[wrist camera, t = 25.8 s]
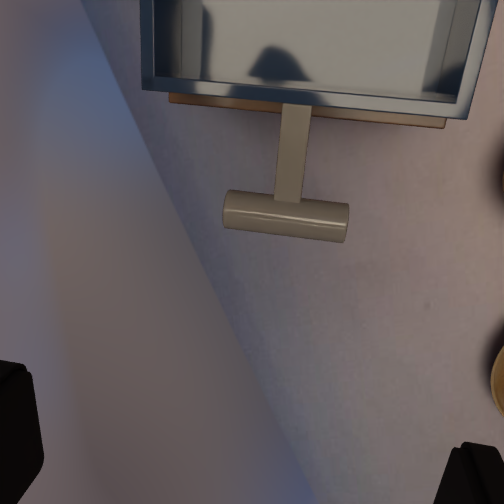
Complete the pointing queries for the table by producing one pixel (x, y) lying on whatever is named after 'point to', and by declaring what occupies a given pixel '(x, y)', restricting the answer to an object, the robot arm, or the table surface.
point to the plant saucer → (498, 381)
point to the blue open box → (314, 76)
